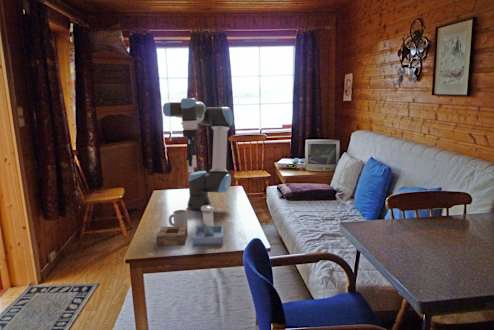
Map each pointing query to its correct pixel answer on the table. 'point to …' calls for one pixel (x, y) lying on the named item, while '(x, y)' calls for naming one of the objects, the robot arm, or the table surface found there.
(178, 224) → the cup
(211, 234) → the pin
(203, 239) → the tray
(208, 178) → the robot arm
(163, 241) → the socket block
